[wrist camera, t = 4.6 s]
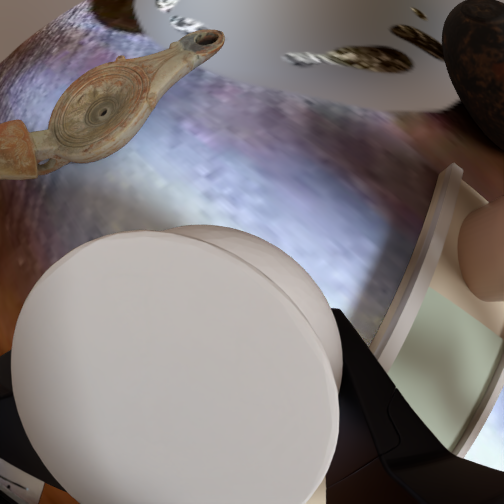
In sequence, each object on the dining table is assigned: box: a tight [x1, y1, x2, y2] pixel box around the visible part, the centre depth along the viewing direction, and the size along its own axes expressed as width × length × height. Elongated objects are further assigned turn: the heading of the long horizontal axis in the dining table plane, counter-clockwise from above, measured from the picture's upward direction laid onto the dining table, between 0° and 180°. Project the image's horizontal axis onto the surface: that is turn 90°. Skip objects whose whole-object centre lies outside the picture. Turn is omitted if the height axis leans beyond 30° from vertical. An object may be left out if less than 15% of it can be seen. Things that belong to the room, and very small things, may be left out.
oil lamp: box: [0, 30, 225, 180], centre depth 15 cm, size 9×21×10 cm, turn 128°
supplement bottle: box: [11, 225, 343, 504], centre depth 9 cm, size 7×7×13 cm
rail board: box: [305, 163, 504, 504], centre depth 15 cm, size 32×12×2 cm, turn 150°
